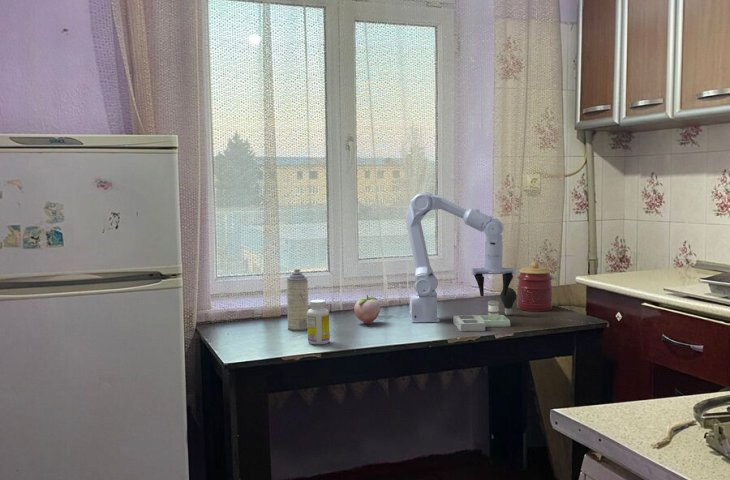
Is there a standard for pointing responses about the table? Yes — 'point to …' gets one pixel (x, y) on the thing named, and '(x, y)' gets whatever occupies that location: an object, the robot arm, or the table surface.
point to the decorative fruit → (367, 309)
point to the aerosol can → (297, 301)
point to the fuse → (493, 310)
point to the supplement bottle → (318, 323)
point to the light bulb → (508, 300)
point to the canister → (534, 288)
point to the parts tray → (495, 321)
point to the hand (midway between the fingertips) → (493, 295)
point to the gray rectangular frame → (468, 323)
